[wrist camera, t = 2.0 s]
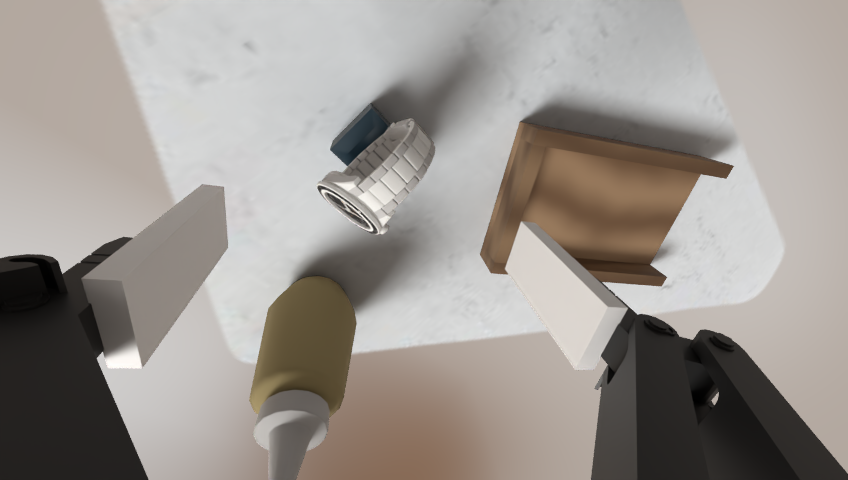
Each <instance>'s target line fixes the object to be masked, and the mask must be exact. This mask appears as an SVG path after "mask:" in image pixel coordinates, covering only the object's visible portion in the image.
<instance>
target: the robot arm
mask: <svg viewBox="0 0 848 480" xmlns="http://www.w3.org/2000/svg"><path fill="white" fill-rule="evenodd" d="M227 248H228V239H227V225H226V211H225V197H224V187H220V186H212V185H203V184H202V185H201V186H200V187H198V188H197V189H196V190H194V191H193V192H192V193H191V194H189V195H188V196H187V197H185V198H184V199H183V200H182V201H180V202H179V203H178V204H176V205H175V206H174V207H173V208H171V209H170V210H169V211H167V212H166V213H165V214H164V215H162V216H161V217H160V218H159V219H157V220H156V221H155V222H153V223H152V224H151V225H149V226H148V227H147V228H146V229H144V230H143V231H142V232H141V233H139V234H138V235H137V236H135V237H134V238H128V237H122V238H119V239H117V240H114V241H112V242H109V243H106V244H104V245H103V246H101V247H100V248H98V249H97V250H96V251H94V252H93V253H92V255H89V256H87V257H86V258H84V259H83V260H82V261H81V263H77V264H76V265H75V266H73V267H72V268H70V269H69V270H68V271H66V272H65V273H63V274H62V272H61V269H60V266H59V263H58V261H57V260H56V259H54V258H53V257H50V256H45V255H30V254H26V255H18V256H8V257H4V258H0V480H148V477H147V475H146V473H145V470H144V468H143V466H142V464H141V461H140V459H139V456H138V454H137V452H136V450H135V447H134V445H133V443H132V440H131V438H130V435H129V433H128V431H127V428H126V426H125V424H124V422H123V419H122V417H121V414H120V412H119V410H118V407H117V405H116V403H115V401H114V398H113V396H112V394H111V391H110V389H109V387H108V384H107V382H106V380H105V377H104V375H103V373H102V370H101V368H100V366H99V363H98V361H97V359H96V358H97V357H98V356H99V355H100V354H101V353H102V352H103V353H104V357H105V360H106V363H107V367H108V368H143V366H144V365H145V364H146V362H147V361H148V359H149V358H150V357H151V355H152V354H153V352H154V351H155V350H156V348H157V347H158V345H159V344H160V343H161V341H162V340H163V338H164V337H165V335H166V334H167V333H168V331H169V330H170V328H171V327H172V326H173V324H174V323H175V321H176V320H177V319H178V317H179V316H180V314H181V313H182V311H183V310H184V309H185V307H186V306H187V305H188V303H189V302H190V300H191V299H192V298H193V296H194V295H195V293H196V292H197V291H198V289H199V288H200V286H201V285H202V283H203V282H204V281H205V279H206V278H207V276H208V275H209V274H210V272H211V271H212V269H213V268H214V267H215V265H216V264H217V262H218V261H219V260H220V258H221V257H222V255H223V254H224V252H225V251H226V250H227ZM505 270H506V271H507V273H508V274H509V276H510V277H511V279H512V280H513V281H514V283H515V284H516V286H517V287H518V289H519V290H520V291H521V293H522V294H523V296H524V297H525V299H526V300H527V301H528V303H529V304H530V306H531V307H532V309H533V310H534V311H535V313H536V314H537V316H538V317H539V319H540V320H541V321H542V323H543V324H544V326H545V327H546V329H547V330H548V331H549V333H550V334H551V336H552V337H553V339H554V340H555V341H556V343H557V344H558V346H559V347H560V349H561V350H562V351H563V353H564V354H565V356H566V357H567V359H568V360H569V361H570V363H571V364H572V366H573V367H574V369H575V370H594V369H595V367H596V365H597V363H598V361H599V359H600V358H601V357H602V358H603V359H604V360H605V361H606V363H607V364H608V366H607V367H606V369H605V371H604V373H603V374H602V376H601V378H600V379H599V381H598V383H597V385H596V386H595V389H597V390H598V389H599V387H602V389H601V397H600V405H599V414H598V423H597V432H596V440H595V449H594V458H593V468H592V476H591V480H848V474H847V473H846V471H845V470H844V469H843V468H842V466H841V465H840V464H839V463H838V462H837V460H836V459H835V458H834V457H833V456H832V454H831V453H830V452H829V451H828V450H827V449H826V448H825V446H824V445H823V444H822V443H821V441H820V440H819V439H818V438H817V437H816V435H815V434H814V433H813V432H812V431H811V430H810V428H809V427H808V426H807V425H806V423H805V422H804V421H803V420H802V419H801V418H800V416H799V415H798V414H797V413H796V411H795V410H794V409H793V408H792V407H791V405H790V404H789V403H788V402H787V401H786V400H785V399H784V397H783V396H782V395H781V394H780V393H779V391H778V390H777V389H776V388H775V386H774V385H773V384H772V383H771V382H770V380H769V379H768V378H767V377H766V376H765V375H764V373H763V372H762V371H761V370H760V368H759V367H758V366H757V365H756V364H755V363H754V361H753V360H752V359H751V358H750V357H749V355H748V354H747V353H746V352H745V351H744V350H743V349H742V348H741V347H740V346H739V345H738V344H737V343H735V342H734V341H732V339H731V338H729V337H727V336H725V335H723V334H721V333H716V332H713V331H710V330H700V331H699V332H698V334H697V335H696V337H695V338H694V339H693V340H690V339H687V338H682V337H679V335H678V334H677V332H676V331H675V330H674V329H673V328H672V327H671V326H670V325H668V324H666V323H665V322H664V321H662V320H659V319H658V318H656V317H652V316H649V315H645V314H639V315H637V314H636V313H635V312H634V311H633V310H632V309H631V308H630V307H628V306H627V305H626V304H625V303H624V302H623V301H622V300H621V299H620V298H619V297H617V296H615V294H614V293H613V292H612V291H611V290H608V287H606V286H605V285H604V284H603V283H602V282H601V281H600V280H598V279H597V278H595V277H594V276H593V275H591V274H590V273H589V272H588V271H587V270H586V269H585V268H584V267H583V266H582V265H581V264H579V263H578V262H577V261H576V260H575V259H574V258H573V257H572V256H571V255H570V254H569V253H567V252H566V251H565V250H564V249H563V248H562V247H561V246H560V245H559V244H558V243H557V242H556V241H554V240H553V239H552V238H551V237H550V236H549V235H548V234H547V233H546V232H545V231H544V230H542V229H541V228H540V227H539V226H538V225H537V224H536V223H532V222H524V221H521V223H520V226H519V229H518V232H517V235H516V238H515V241H514V244H513V247H512V250H511V253H510V256H509V258H508V261H507V264H506V267H505ZM718 392H719V397H718V401H717V403H716V404H715V405H713V403H712V401H711V400H712V399H713V398H714V397H715V395H716V394H717V393H718Z"/></svg>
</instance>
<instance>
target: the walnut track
mask: <svg viewBox="0 0 848 480" xmlns="http://www.w3.org/2000/svg"><path fill="white" fill-rule="evenodd" d="M733 167H734V166H732V165H729V164H725V163H722V162H719V161H715V160H712V159H708V158H705V157H701V156H697V155H691V154H686V153H681V152H676V151H670V150H665V149H660V148H655V147H649V146H644V145H639V144H634V143H628V142H623V141H618V140H613V139H607V138H602V137H597V136H592V135H586V134H581V133H576V132H571V131H565V130H560V129H555V128H550V127H544V126H539V125H534V124H529V123H523V122H520V123H519V127H518V130H517V133H516V137H515V140H514V143H513V147H512V150H511V153H510V157H509V160H508V163H507V167H506V170H505V173H504V176H503V180H502V183H501V186H500V190H499V193H498V196H497V200H496V203H495V206H494V210H493V213H492V216H491V220H490V223H489V226H488V230H487V233H486V236H485V240H484V243H483V246H482V249H481V253H480V256H481V257H482V259H483V261H484V262H485V264H486V266H487V267H488V269H489V271H490V272H491V273H496V274H508V273H507V271H506V270H505V267H506V264H507V261H508V258H509V256H510V253H511V250H512V247H513V244H514V241H515V238H516V235H517V232H518V229H519V226H520V223H521V221H524V222H532V223H536V224H537V225H538V226H539V227H540V228H541V229H542V230H544V231H545V232H546V233H547V234H548V235H549V236H550V237H551V238H552V239H553V240H554V241H556V242H557V243H558V244H559V245H560V246H561V247H562V248H563V249H564V250H565V251H566V252H567V253H569V254H570V255H571V256H572V257H573V258H574V259H575V260H576V261H577V262H578V263H579V264H581V265H582V266H583V267H584V268H585V269H586V270H587V271H588V272H589V273H590V274H591V275H593V276H594V277H595V278H597V279H598V280H600V281H601V282H612V283H625V284H638V285H651V286H662V285H663V283H664V281H665V280H666V278H667V277H666V276H665V275H663V274H662V273H661V272H659V271H658V270H656V269H655V268H654V267H652V266H651V265H650V264H651V262H652V260H653V258H654V256H655V255H656V253H657V251H658V249H659V248H660V246H661V244H662V242H663V240H664V239H665V237H666V235H667V233H668V232H669V230H670V228H671V226H672V225H673V223H674V221H675V219H676V217H677V216H678V214H679V212H680V210H681V209H682V207H683V205H684V203H685V202H686V200H687V198H688V196H689V194H690V193H691V191H692V189H693V187H694V186H695V184H696V182H697V180H698V178H699V177H700V175H701V174H703V175H709V176H715V177H720V178H727V177H728V175H729V173H730V172H731V170H732V168H733Z"/></svg>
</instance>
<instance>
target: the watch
mask: <svg viewBox="0 0 848 480" xmlns="http://www.w3.org/2000/svg"><path fill="white" fill-rule="evenodd" d="M330 150H331V151H332V152H333V153H334V154H335V155H336V156H337V157H338V158H339V159H340V160H341V161H342V162H343V163H345V164H346V165H347V166H348V167H347V168H346V169H345V170H344V171H343V172H342V173H341V172H338V171H332V172H330V173H328V174H327V175H326V177H325V178H324V179H323V180H322V181H320V182H319V183H318V184H317V189H318V190H319V192H320V194H321V195H322V196H323V197H324V198H325V199H326V200H327V202H328V203H329V204H331V205H332V206H333V207H334V208H335V209H336V210H337V211H338V212H340V213H341V214H342V215H343V216H345V217H346V218H347V219H348V220H350V221H351V222H353V223H354V224H356V225H357V226H359V227H360V228H362V229H364V230H366V231H368V232H370V233H373V234H379V233H380V234H384V233H386V232H387V231H388V229H389V226H388V225H387V224H386V223H387V222H388V220H389V219H390V218H391V217H392V216H393V214H394V213H395V211H394V210H393V209H394V208H395V207H396V206H397V205H398V204H400V203H401V202H402V201H403V200H404V199H405V198H406V197H407V195H408V194H409V193H410V192H411V191H412V190H413V189H414V188H415V187H416V185H417V184H418V183H419V181H420V180H421V179H422V178H423V176H424V175H425V173H426V171H427V169H428V167H429V166H430V164H431V162H432V159H433V157H434V153H435V146H434V143H433V141H432V140H431V138H430V137H429V136H428V135H427V133H426V132H425V131H424V130H423V129H422V128H421V126H420V125H419V124H418V123H417V122H416V121H415V120H414V119H413V118H409V119H405V120H402V121H399V122H397V123H392V124H391V125H390V124H389V123H388V122H387V120H386V119H385V118H384V117H383V116H382V115H381V114H380V113H379V112H378V110H377V109H376V108H375V107H374V106H373V105H372V104H371V103H370V104H369V105H368V106H367V107H366V108H365V109H364V110H363V111H362V112H361V113H360V114H359V115H358V116H357V117H356V118H355V119H354V120H353V121H352V122H351V123H350V124H349V125H348V126H347V127H346V128H345V129H344V130H343V131H342V132H341V133H340V134H339V135H338V136H337V137H336V138H335V139H334V140H333V143H332V146H331V148H330ZM394 193H395V194H394Z"/></svg>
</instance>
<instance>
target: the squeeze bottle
mask: <svg viewBox="0 0 848 480" xmlns="http://www.w3.org/2000/svg"><path fill="white" fill-rule="evenodd" d="M355 329H356V318H355V312H354V309H353V307H352V305H351V303H350V301H349V299H348V297H347V296H346V294H345V292H344V290H343V289H342V288H341V286H340V285H339V284H338V283H336V282H335V281H333V280H331V279H329V278H326V277H321V276H311V277H304V278H302V279H300V280H298V281H296V282H294V283H293V284H292V285H291V286H290V287H289V288H288V289H287V290H286V291H284V292H283V293H282V294H281V295H280V296H279V297H278V298H277V299H276V300H275V302H274V303H273V304H272V305H271V306H270V307H269V309H268V313H267V317H266V322H265V327H264V332H263V336H262V341H261V346H260V351H259V356H258V360H257V365H256V370H255V375H254V380H253V385H252V389H251V394H250V400H249V401H250V403H251V405H252V407H253V410H254V412H256V413H257V414H258V417H257V421H256V424H255V429H254V433H253V435H254V437H255V439H256V441H257V443H258V444H259V445H261V446H262V447H263V448H265V449H266V450H268V451H269V465H268V466H269V468H268V471H269V472H268V480H296V478H297V475H298V472H299V470H300V467H301V464H302V461H303V459H304V456H305V453H306V451H308V450H310V449H312V448H314V447H317V446H318V445H319V444H320V443H321V442H322V441H323V440H324V439H325V437H326V435H327V432H328V425H329V418H330V417H331V416H332V415H333V414H334V413H335V412H336V411H337V410H338V409H339V408H340V406H341V403H342V400H343V398H344V393H345V387H346V381H347V376H348V370H349V363H350V358H351V352H352V346H353V341H354V335H355Z"/></svg>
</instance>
